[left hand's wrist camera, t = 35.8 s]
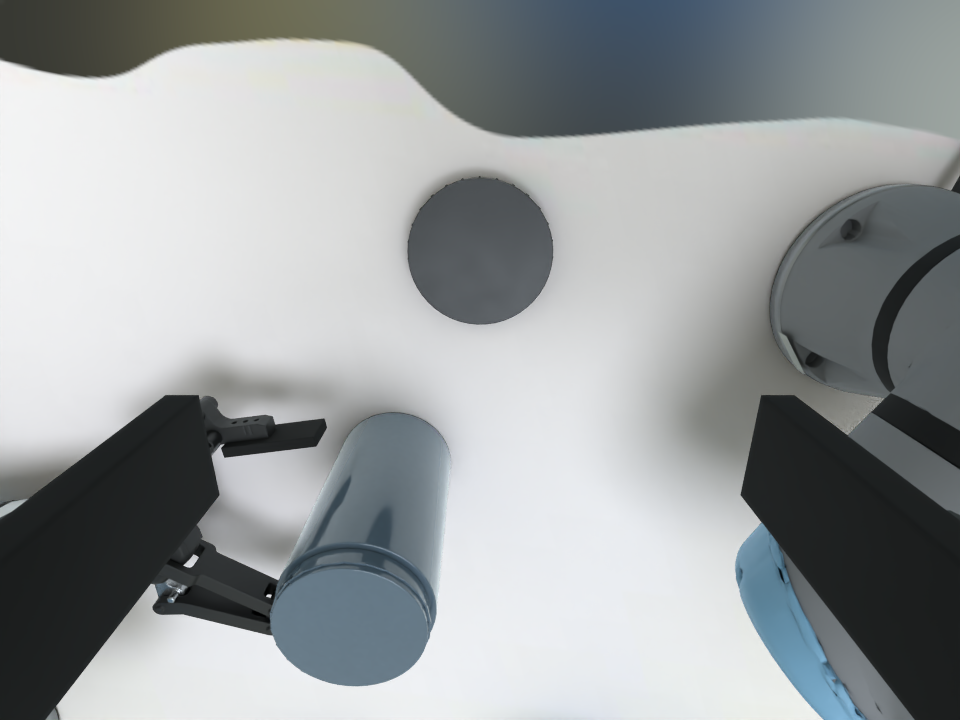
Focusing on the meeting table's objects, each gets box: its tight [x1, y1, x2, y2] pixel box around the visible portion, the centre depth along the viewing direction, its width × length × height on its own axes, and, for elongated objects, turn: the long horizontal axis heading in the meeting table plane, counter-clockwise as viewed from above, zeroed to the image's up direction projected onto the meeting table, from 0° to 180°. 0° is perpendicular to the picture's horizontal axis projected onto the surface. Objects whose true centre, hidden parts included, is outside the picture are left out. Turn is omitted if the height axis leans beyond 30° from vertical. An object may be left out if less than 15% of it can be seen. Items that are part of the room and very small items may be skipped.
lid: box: [408, 176, 553, 324], centre depth 38 cm, size 10×10×2 cm
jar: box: [270, 413, 451, 686], centre depth 37 cm, size 9×9×17 cm
